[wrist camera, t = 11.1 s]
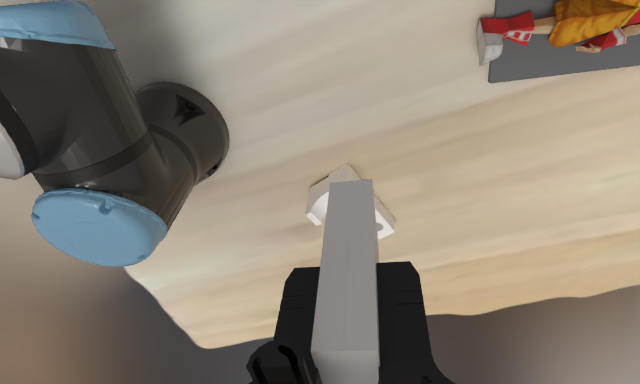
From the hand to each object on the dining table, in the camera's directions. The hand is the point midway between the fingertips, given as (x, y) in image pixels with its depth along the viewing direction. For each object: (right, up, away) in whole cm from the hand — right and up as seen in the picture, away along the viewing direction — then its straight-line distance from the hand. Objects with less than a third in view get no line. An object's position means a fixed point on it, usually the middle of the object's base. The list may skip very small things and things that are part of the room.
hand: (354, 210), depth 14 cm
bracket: (+4, -1, +48) cm, 48 cm away
